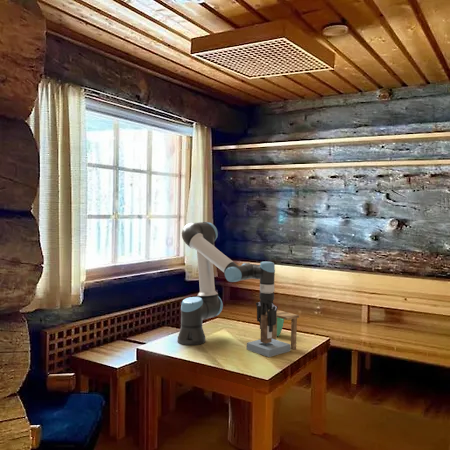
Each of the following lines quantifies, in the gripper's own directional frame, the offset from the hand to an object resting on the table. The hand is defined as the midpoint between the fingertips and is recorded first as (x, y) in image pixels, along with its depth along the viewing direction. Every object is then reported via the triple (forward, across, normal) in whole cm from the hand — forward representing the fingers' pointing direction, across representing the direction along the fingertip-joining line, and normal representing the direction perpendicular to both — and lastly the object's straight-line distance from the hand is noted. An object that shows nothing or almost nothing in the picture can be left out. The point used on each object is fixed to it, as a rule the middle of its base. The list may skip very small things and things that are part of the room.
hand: (266, 336), depth 255 cm
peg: (+3, 0, 0) cm, 3 cm away
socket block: (+7, 0, +2) cm, 8 cm away
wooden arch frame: (+7, 0, +11) cm, 13 cm away
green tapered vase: (+8, -19, +26) cm, 33 cm away
